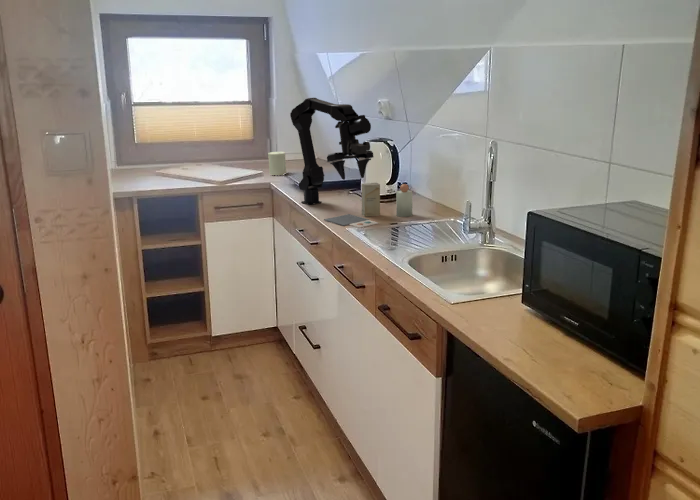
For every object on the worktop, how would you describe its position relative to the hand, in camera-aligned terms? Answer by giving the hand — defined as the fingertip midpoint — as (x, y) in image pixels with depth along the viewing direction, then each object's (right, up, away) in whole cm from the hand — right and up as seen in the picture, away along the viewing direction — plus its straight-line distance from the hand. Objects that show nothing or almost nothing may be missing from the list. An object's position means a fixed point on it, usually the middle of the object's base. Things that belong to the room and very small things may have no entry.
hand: (353, 178), depth 239 cm
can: (-40, +13, +94) cm, 103 cm away
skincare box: (+7, -14, 0) cm, 16 cm away
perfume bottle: (+19, -14, -1) cm, 24 cm away
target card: (+4, -18, -13) cm, 22 cm away
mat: (-3, -16, -7) cm, 18 cm away
